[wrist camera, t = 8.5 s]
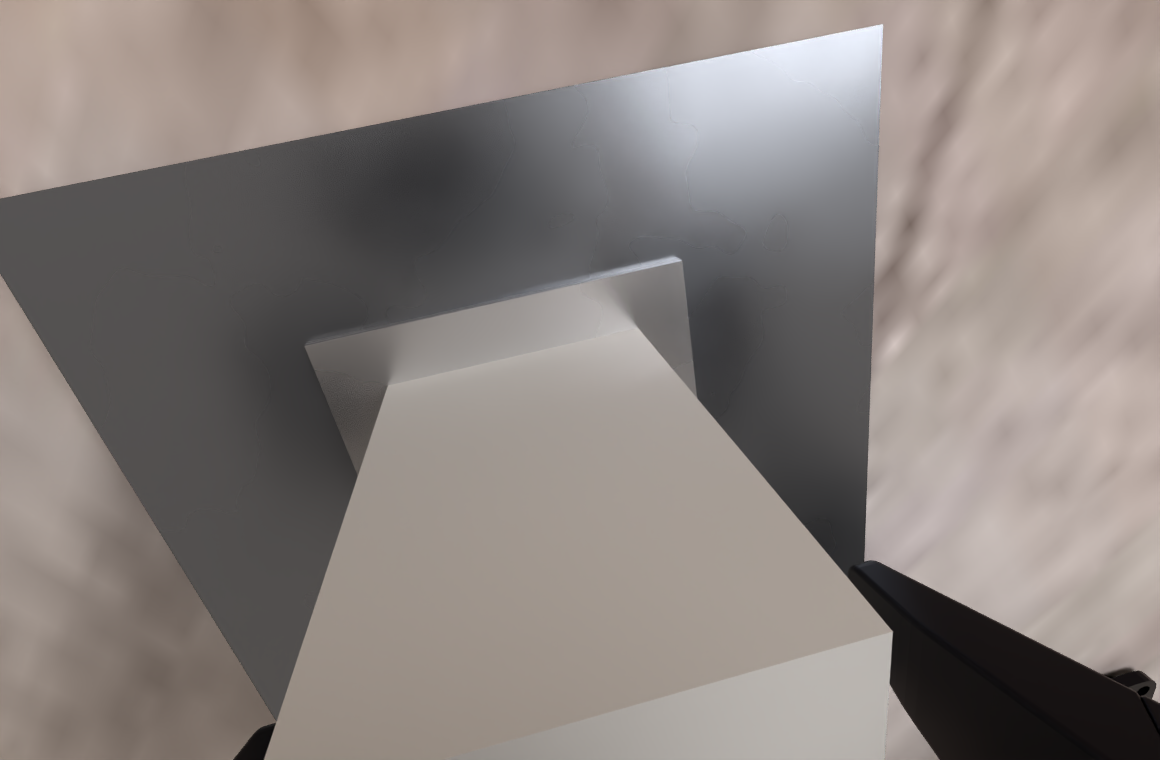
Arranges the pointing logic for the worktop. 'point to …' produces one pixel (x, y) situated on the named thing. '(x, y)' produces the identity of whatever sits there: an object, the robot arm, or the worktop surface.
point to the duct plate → (465, 297)
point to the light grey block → (577, 584)
